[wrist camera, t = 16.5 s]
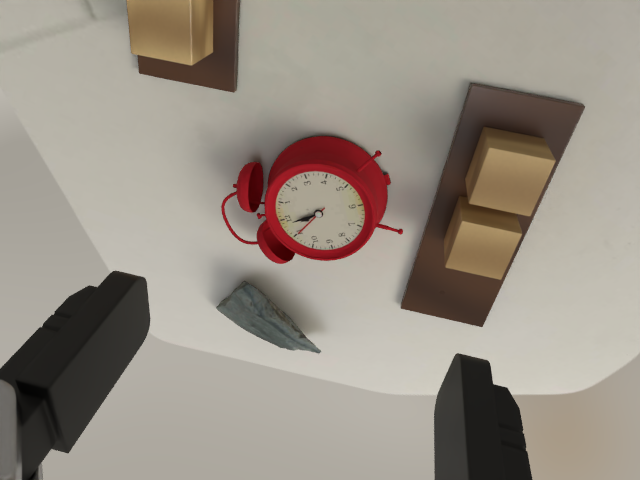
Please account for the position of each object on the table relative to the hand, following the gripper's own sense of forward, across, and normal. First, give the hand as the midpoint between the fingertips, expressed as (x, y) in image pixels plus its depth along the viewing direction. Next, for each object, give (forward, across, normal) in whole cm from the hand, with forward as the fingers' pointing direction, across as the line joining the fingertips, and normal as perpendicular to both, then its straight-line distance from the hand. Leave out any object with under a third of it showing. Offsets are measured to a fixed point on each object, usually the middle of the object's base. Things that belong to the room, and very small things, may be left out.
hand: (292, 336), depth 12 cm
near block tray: (+28, -11, +11) cm, 32 cm away
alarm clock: (+28, +4, +12) cm, 31 cm away
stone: (+28, +7, +27) cm, 40 cm away
